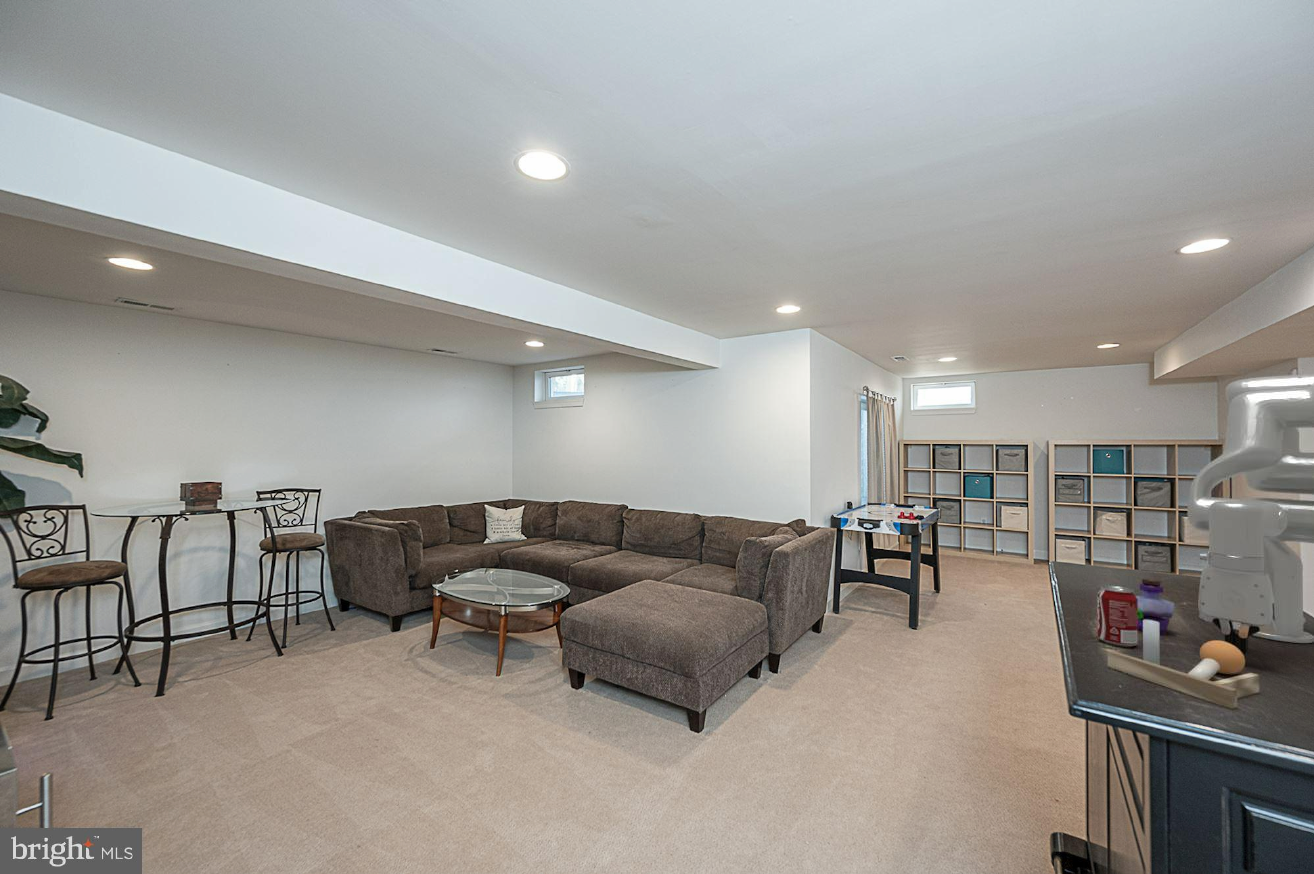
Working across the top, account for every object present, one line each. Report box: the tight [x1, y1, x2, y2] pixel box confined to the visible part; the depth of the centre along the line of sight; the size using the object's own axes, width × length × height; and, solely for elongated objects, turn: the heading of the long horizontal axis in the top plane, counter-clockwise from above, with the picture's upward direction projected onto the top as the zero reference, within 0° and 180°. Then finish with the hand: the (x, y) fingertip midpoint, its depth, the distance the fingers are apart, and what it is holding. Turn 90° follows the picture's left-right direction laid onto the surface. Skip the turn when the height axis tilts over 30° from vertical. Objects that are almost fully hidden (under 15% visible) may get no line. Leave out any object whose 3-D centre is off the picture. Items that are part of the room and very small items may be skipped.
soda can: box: [1096, 584, 1139, 648], centre depth 119 cm, size 7×7×12 cm
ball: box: [1199, 639, 1246, 675], centre depth 103 cm, size 6×6×6 cm
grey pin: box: [1142, 620, 1161, 666], centre depth 107 cm, size 2×2×8 cm
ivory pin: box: [1187, 658, 1220, 680], centre depth 99 cm, size 2×2×8 cm
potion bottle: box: [1135, 577, 1176, 635], centre depth 128 cm, size 9×9×12 cm
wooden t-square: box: [1107, 650, 1260, 710], centre depth 99 cm, size 13×18×3 cm
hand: (1236, 654), depth 109 cm, fingers closed
